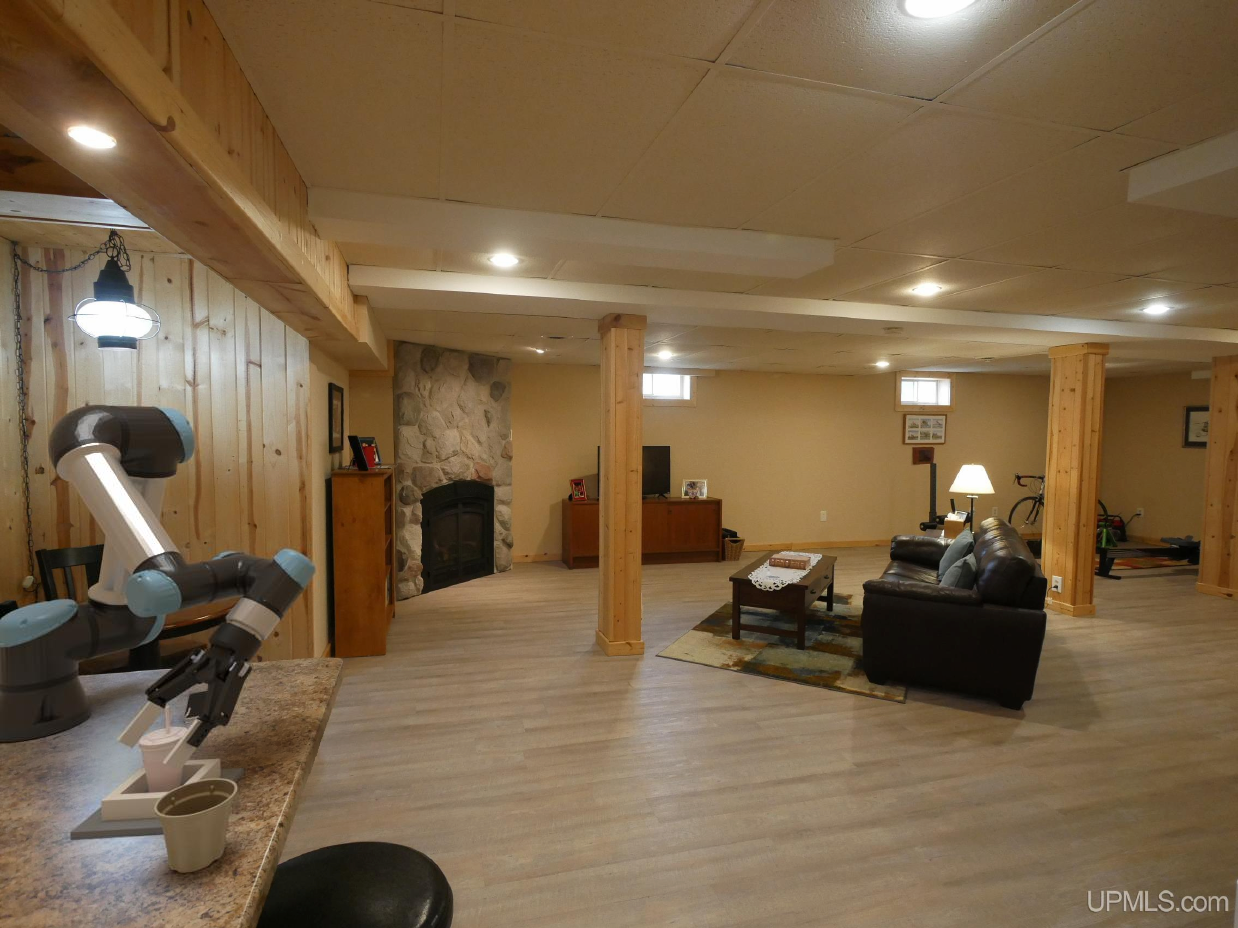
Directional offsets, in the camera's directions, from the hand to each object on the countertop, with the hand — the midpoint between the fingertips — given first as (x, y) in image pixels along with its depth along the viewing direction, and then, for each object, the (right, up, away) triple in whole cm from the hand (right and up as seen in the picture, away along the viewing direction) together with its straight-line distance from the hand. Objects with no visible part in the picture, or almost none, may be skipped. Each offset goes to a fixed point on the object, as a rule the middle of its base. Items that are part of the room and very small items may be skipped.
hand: (146, 755), depth 96 cm
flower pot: (+15, -9, -10) cm, 20 cm away
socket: (+1, -9, +2) cm, 9 cm away
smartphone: (-15, -8, +38) cm, 41 cm away
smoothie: (+1, -8, +2) cm, 8 cm away
